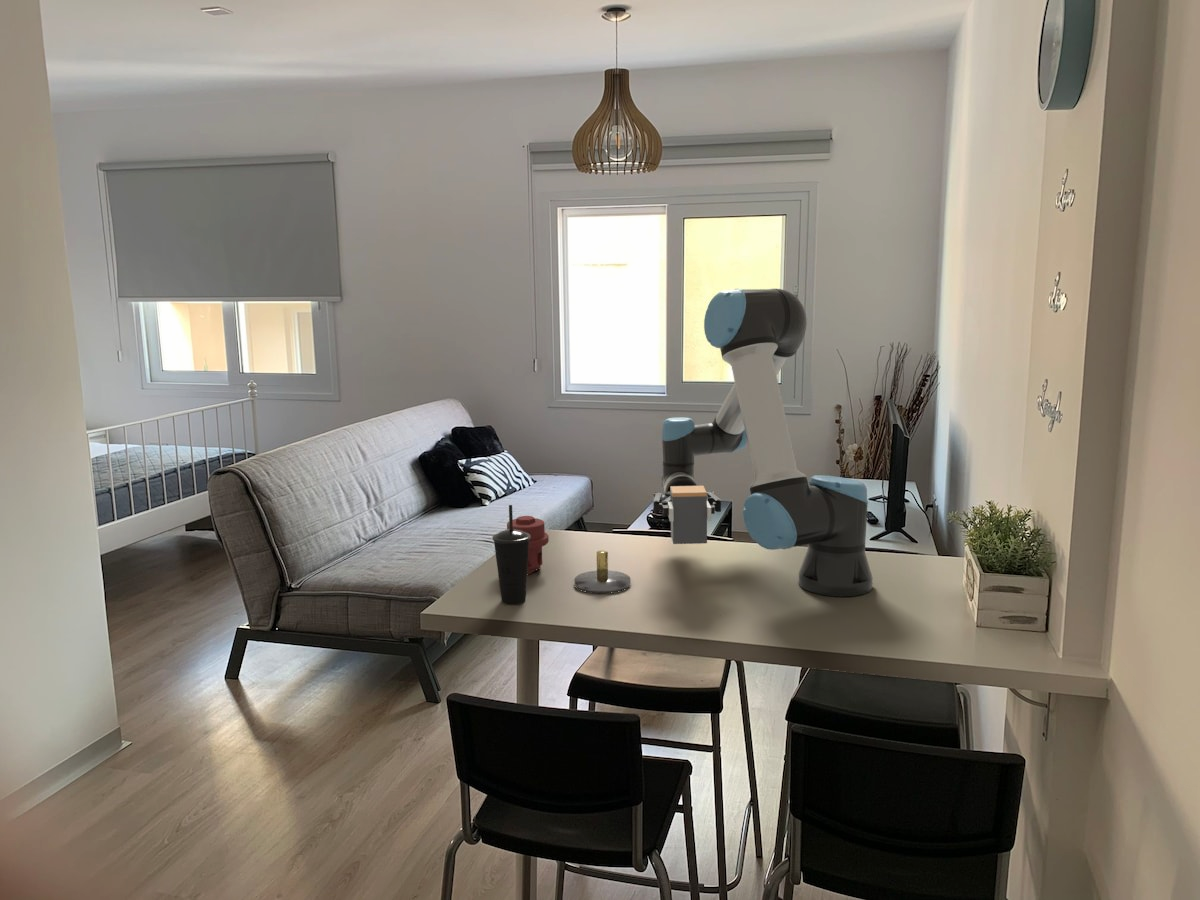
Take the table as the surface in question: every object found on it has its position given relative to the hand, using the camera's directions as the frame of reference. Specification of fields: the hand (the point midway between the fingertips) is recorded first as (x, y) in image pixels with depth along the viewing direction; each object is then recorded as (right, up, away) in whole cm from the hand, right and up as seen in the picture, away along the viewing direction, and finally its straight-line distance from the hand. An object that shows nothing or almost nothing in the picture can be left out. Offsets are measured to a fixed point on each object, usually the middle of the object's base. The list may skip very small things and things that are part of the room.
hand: (690, 514), depth 185 cm
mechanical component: (-35, -14, +18) cm, 42 cm away
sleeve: (0, -6, +6) cm, 8 cm away
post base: (-18, -16, +9) cm, 25 cm away
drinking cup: (-36, -18, -1) cm, 40 cm away
